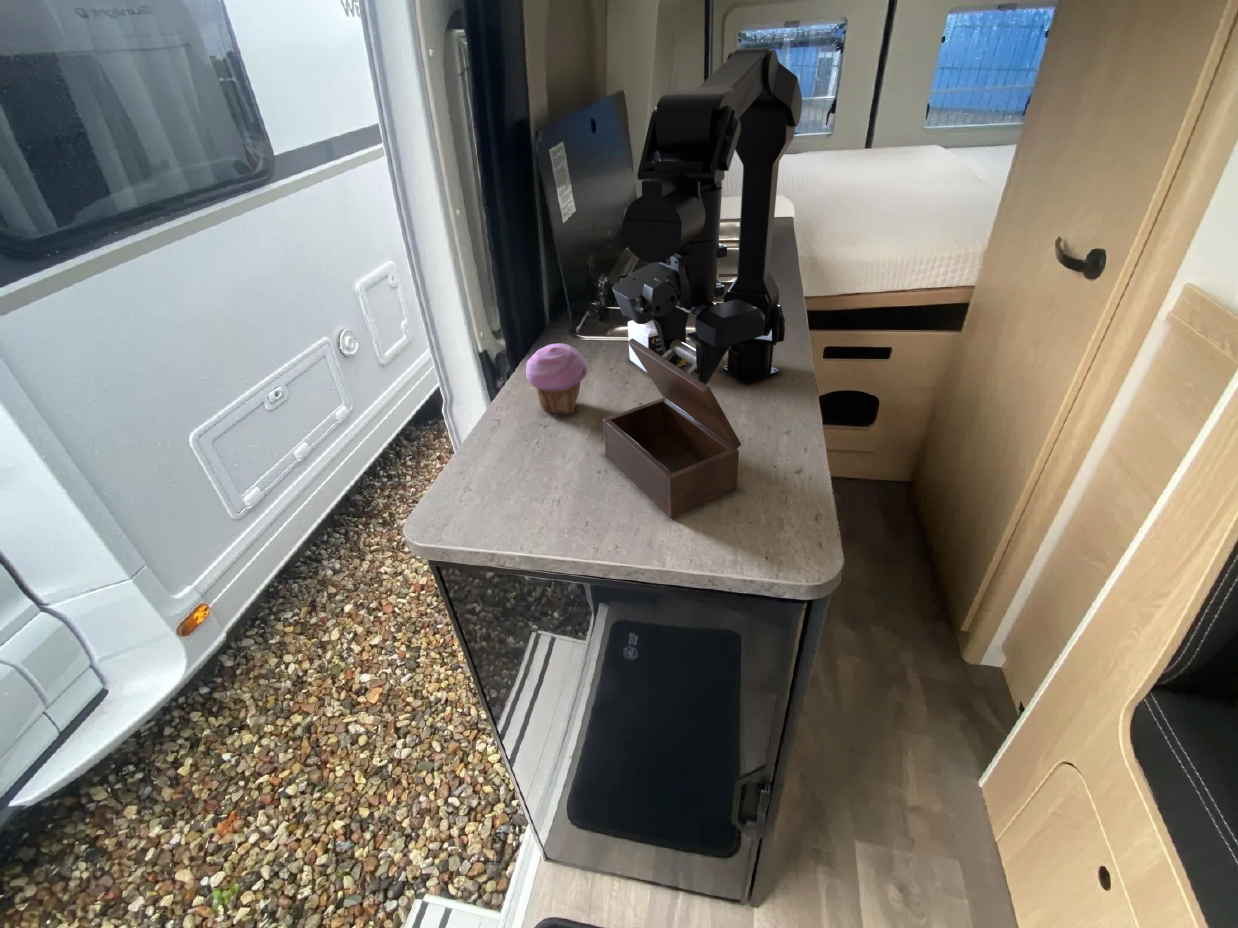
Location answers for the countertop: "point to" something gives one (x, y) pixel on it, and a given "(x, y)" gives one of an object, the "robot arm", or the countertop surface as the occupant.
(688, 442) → the storage box
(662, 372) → the hatch
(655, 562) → the countertop surface
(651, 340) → the medicine bottle
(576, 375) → the cupcake
